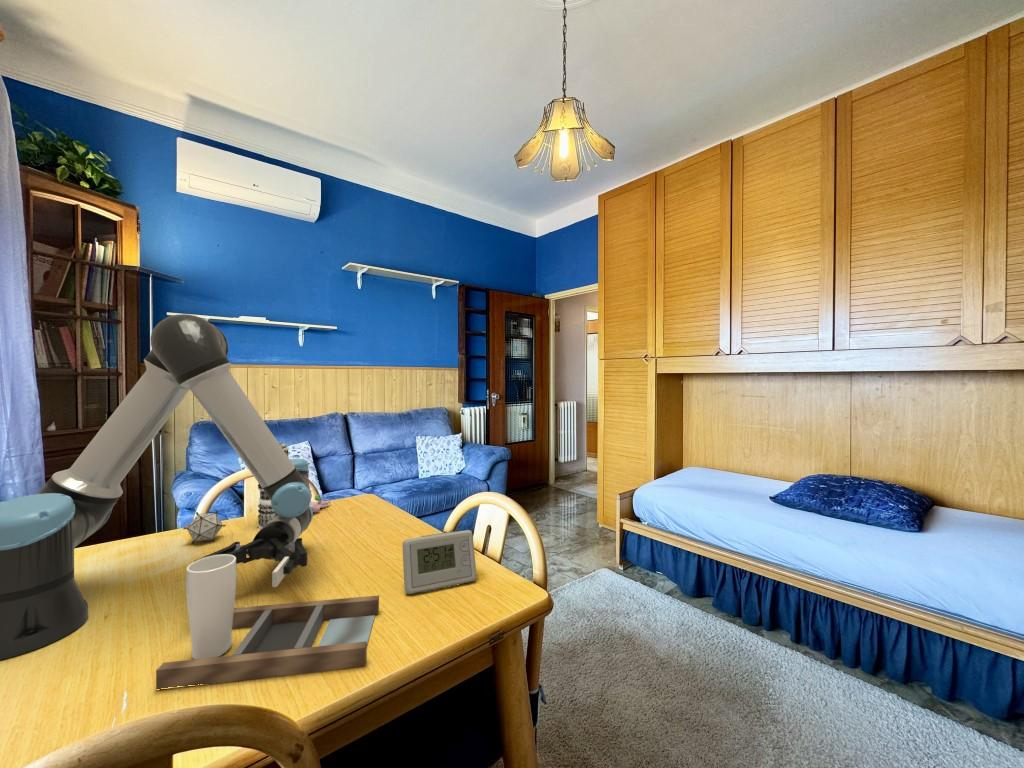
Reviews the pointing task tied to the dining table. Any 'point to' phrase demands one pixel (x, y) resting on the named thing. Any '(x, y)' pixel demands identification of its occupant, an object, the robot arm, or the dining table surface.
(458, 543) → the digital clock
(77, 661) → the dining table surface
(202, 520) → the game die
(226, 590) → the drinking glass
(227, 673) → the brown wooden divided tray
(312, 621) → the tray
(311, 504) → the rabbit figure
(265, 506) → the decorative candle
